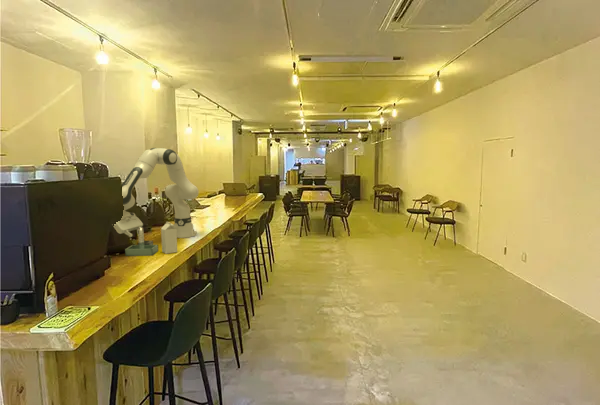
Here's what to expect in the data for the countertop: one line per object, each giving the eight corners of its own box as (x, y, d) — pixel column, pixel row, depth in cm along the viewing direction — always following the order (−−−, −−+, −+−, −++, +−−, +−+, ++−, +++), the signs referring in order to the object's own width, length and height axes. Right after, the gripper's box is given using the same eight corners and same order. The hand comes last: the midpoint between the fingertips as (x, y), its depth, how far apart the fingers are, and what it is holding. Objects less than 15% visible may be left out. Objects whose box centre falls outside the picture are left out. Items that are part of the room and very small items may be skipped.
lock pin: (140, 251, 229) (139, 227, 227) (145, 251, 229) (144, 227, 228) (138, 252, 226) (137, 228, 224) (143, 252, 226) (142, 228, 225)
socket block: (142, 248, 240) (141, 240, 240) (153, 248, 241) (152, 240, 240) (138, 251, 233) (137, 243, 233) (149, 250, 234) (149, 243, 233)
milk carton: (166, 254, 226) (164, 223, 224) (162, 251, 232) (160, 222, 229) (177, 252, 231) (176, 222, 228) (173, 250, 236) (172, 220, 234)
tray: (132, 251, 233) (131, 245, 232) (158, 250, 234) (157, 244, 233) (125, 255, 222) (124, 249, 221) (152, 255, 223) (152, 249, 222)
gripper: (113, 217, 217) (128, 234, 216) (136, 212, 237) (150, 228, 236) (107, 224, 218) (122, 241, 217) (130, 219, 238) (144, 234, 237)
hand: (137, 234), depth 227 cm, fingers open, 8 cm apart
